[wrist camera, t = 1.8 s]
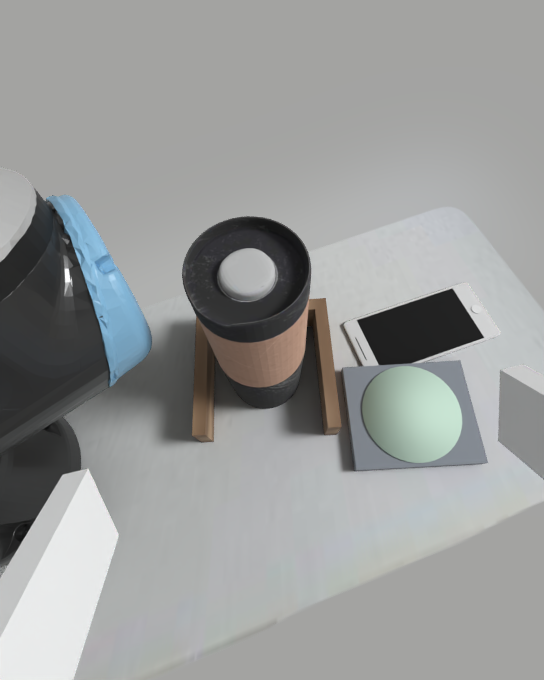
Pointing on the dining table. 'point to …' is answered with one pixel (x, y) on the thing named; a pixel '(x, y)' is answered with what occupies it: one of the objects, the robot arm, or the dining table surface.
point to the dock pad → (411, 416)
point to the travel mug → (252, 304)
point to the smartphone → (421, 328)
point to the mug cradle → (325, 368)
